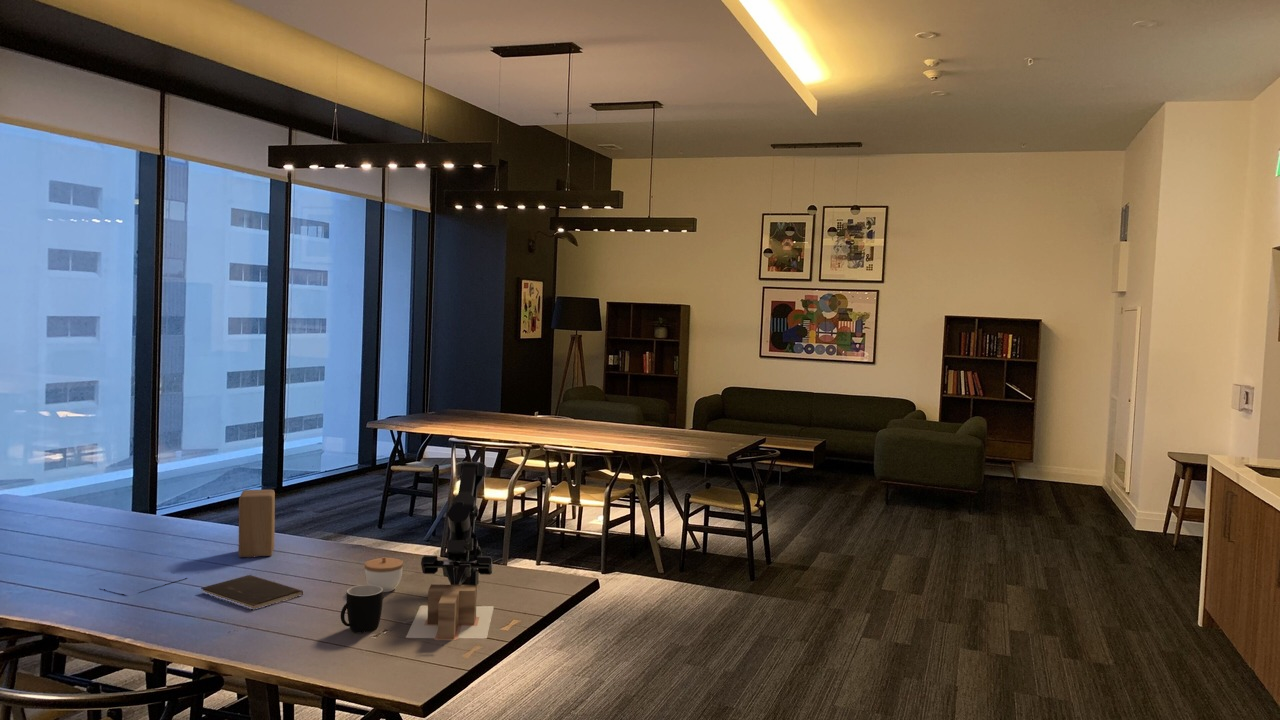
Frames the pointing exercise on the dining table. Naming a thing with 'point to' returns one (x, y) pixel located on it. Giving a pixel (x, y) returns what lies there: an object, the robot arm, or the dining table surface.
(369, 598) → the mug
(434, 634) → the mat
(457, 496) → the robot arm
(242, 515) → the block
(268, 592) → the hardcover book
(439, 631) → the t block
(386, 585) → the lidded jar
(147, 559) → the dining table surface
